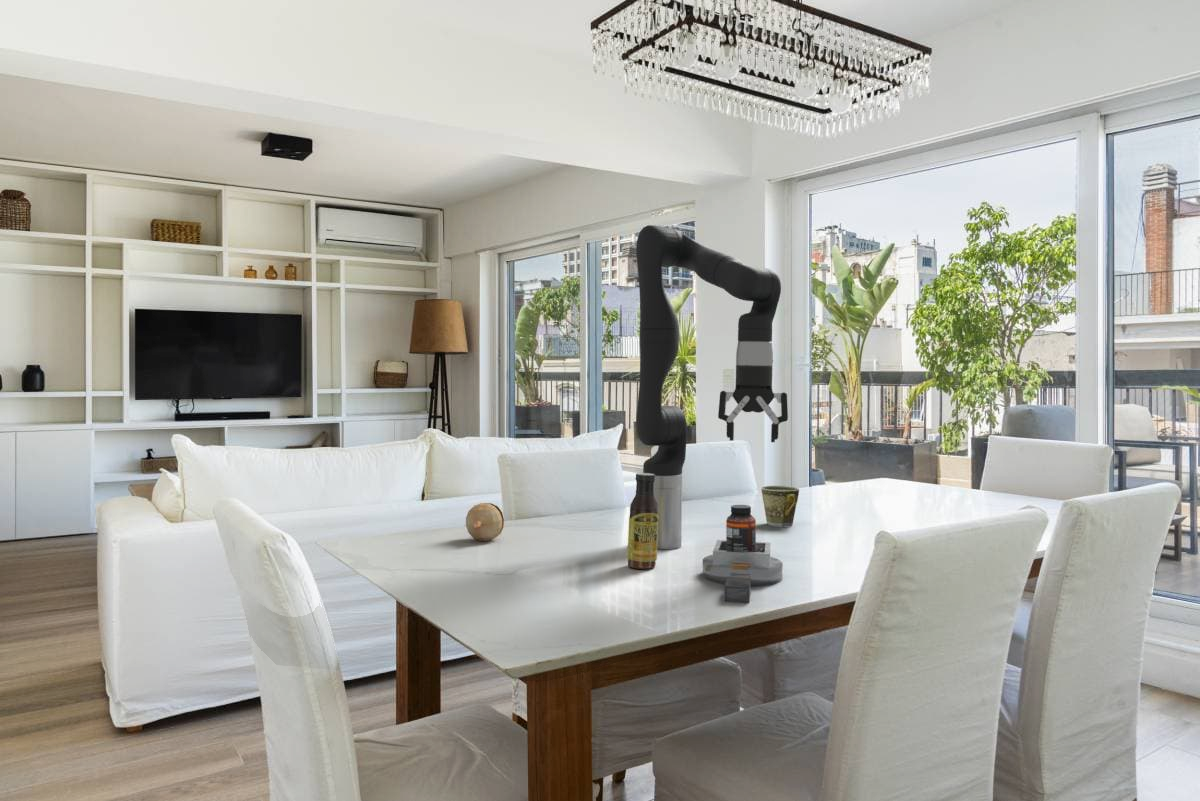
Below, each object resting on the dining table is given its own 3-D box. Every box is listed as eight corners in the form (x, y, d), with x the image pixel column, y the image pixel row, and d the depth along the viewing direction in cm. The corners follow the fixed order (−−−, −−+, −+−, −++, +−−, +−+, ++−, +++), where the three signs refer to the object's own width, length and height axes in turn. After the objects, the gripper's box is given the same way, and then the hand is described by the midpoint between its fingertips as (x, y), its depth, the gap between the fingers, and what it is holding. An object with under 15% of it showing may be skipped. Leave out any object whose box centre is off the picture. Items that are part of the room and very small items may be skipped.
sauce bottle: (632, 571, 173) (633, 476, 172) (623, 564, 179) (624, 472, 178) (662, 569, 174) (662, 475, 174) (652, 562, 180) (653, 471, 180)
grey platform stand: (692, 599, 152) (692, 566, 152) (706, 564, 179) (706, 537, 178) (782, 604, 148) (782, 571, 148) (782, 569, 175) (782, 540, 175)
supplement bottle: (752, 557, 172) (752, 503, 172) (758, 564, 166) (759, 508, 166) (723, 557, 172) (724, 503, 172) (728, 564, 166) (729, 508, 166)
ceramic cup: (754, 522, 229) (754, 486, 228) (786, 520, 232) (787, 485, 231) (778, 531, 216) (778, 493, 216) (811, 529, 219) (812, 491, 219)
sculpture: (510, 503, 210) (489, 496, 195) (513, 540, 207) (492, 536, 193) (476, 507, 211) (452, 501, 197) (478, 544, 209) (454, 541, 195)
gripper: (718, 363, 171) (716, 441, 172) (789, 364, 168) (786, 444, 169) (721, 363, 179) (719, 438, 179) (789, 364, 175) (787, 440, 176)
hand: (752, 441), depth 174 cm, fingers open, 8 cm apart
